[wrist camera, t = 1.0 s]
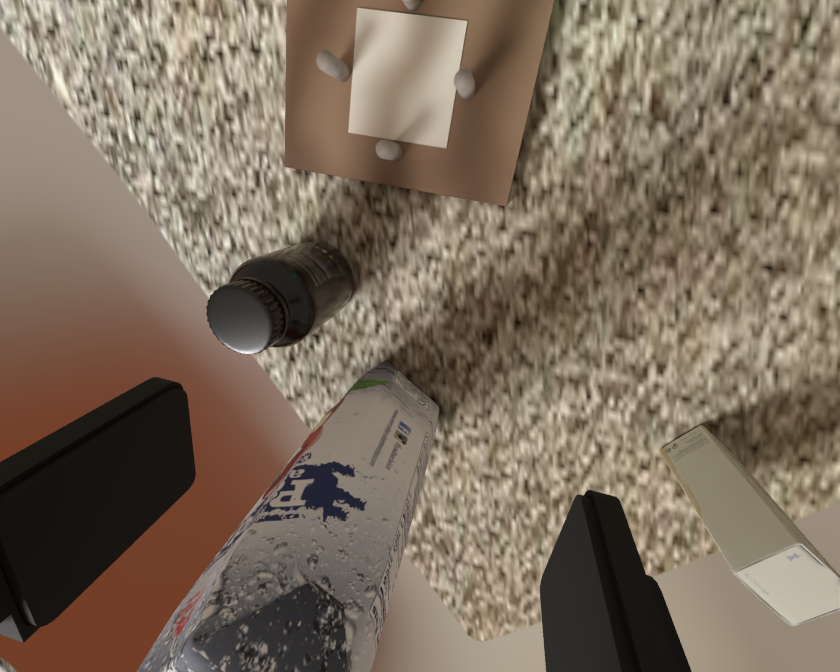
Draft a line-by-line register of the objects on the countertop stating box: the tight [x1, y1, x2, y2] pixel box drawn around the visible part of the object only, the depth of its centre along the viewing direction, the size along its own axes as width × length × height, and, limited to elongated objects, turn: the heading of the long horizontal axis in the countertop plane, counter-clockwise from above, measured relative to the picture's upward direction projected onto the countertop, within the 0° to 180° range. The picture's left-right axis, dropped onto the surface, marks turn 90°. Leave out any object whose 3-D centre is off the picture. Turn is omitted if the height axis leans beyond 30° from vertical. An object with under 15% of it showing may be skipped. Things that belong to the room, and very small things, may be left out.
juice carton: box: [137, 361, 439, 672], centre depth 27 cm, size 9×10×27 cm
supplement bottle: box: [206, 241, 354, 355], centre depth 30 cm, size 7×7×12 cm
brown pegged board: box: [285, 0, 554, 206], centre depth 27 cm, size 18×14×4 cm
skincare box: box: [660, 425, 840, 626], centre depth 29 cm, size 6×4×12 cm
